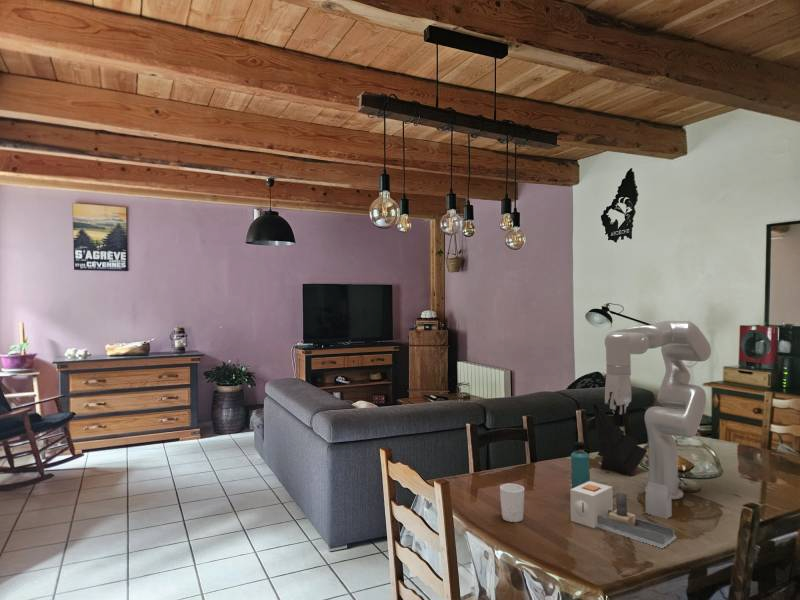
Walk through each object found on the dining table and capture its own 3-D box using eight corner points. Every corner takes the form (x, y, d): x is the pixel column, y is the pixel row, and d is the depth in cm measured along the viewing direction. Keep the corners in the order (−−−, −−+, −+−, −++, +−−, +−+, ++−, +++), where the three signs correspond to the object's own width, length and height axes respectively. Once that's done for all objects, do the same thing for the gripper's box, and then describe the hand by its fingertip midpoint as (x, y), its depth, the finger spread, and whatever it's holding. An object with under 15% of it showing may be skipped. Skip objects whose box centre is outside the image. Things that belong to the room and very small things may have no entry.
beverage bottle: (592, 502, 182) (590, 445, 182) (572, 501, 183) (571, 444, 184) (589, 495, 188) (588, 440, 189) (570, 494, 190) (569, 439, 190)
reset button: (589, 496, 170) (588, 484, 170) (600, 499, 167) (600, 487, 167) (582, 499, 168) (582, 487, 168) (594, 502, 165) (593, 490, 165)
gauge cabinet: (590, 510, 174) (589, 480, 175) (613, 517, 168) (612, 486, 169) (570, 521, 166) (569, 489, 167) (593, 528, 160) (592, 496, 160)
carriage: (616, 518, 164) (615, 490, 164) (635, 524, 159) (634, 495, 159) (608, 523, 161) (608, 494, 161) (627, 529, 156) (627, 499, 156)
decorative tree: (604, 474, 222) (569, 413, 212) (622, 449, 228) (588, 389, 218) (634, 483, 209) (598, 419, 200) (652, 457, 215) (618, 394, 206)
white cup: (497, 514, 173) (496, 484, 173) (520, 512, 174) (519, 482, 174) (504, 523, 165) (503, 492, 165) (528, 522, 166) (527, 491, 166)
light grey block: (666, 519, 166) (665, 488, 166) (645, 513, 172) (645, 483, 172) (671, 516, 169) (671, 486, 169) (651, 510, 174) (650, 480, 174)
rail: (610, 519, 167) (610, 509, 167) (675, 539, 152) (675, 528, 152) (596, 527, 162) (596, 516, 162) (662, 548, 146) (662, 537, 146)
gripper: (618, 367, 181) (619, 420, 180) (596, 371, 171) (597, 427, 171) (639, 369, 175) (641, 423, 175) (618, 373, 165) (619, 431, 165)
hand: (619, 425), depth 173 cm, fingers closed
